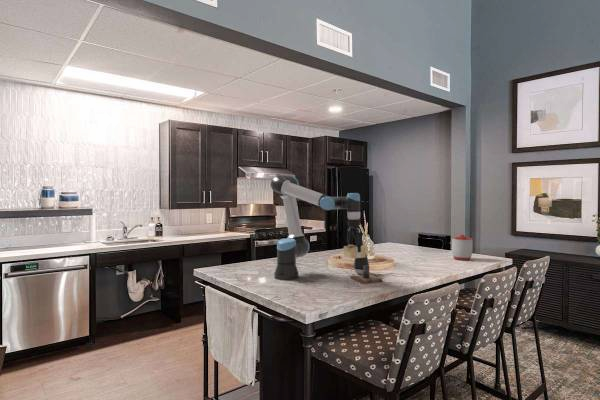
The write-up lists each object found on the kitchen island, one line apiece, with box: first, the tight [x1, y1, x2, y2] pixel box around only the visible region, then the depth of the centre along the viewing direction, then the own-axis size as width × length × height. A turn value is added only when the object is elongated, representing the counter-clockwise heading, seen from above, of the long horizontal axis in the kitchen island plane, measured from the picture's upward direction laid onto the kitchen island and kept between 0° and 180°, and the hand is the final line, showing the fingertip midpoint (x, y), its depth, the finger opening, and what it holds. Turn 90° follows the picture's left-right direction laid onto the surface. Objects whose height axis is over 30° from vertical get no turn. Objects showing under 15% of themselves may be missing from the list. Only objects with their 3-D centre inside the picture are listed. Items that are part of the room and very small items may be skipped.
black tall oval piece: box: [352, 252, 370, 275], centre depth 237 cm, size 10×10×15 cm
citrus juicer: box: [449, 234, 474, 261], centre depth 290 cm, size 16×17×20 cm
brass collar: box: [343, 245, 366, 259], centre depth 218 cm, size 10×10×6 cm
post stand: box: [350, 265, 384, 285], centre depth 219 cm, size 14×14×8 cm
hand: (354, 256), depth 218 cm, fingers closed on brass collar, 9 cm apart
